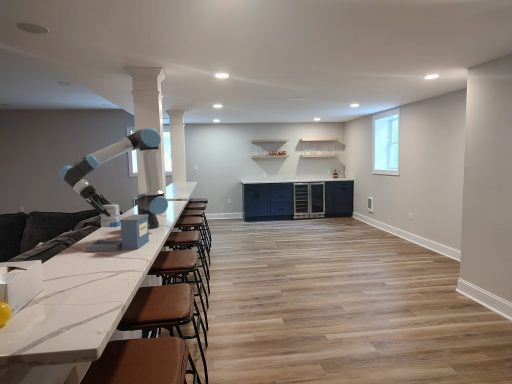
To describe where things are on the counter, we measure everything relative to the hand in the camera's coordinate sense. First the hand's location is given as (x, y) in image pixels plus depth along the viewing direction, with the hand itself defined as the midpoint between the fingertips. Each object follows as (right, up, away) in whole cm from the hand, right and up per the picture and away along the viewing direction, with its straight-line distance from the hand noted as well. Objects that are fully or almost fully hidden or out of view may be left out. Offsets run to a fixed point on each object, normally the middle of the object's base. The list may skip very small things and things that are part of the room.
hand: (117, 219), depth 172 cm
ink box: (-4, -4, +1) cm, 6 cm away
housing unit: (+12, -13, -5) cm, 19 cm away
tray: (0, -14, -11) cm, 18 cm away
